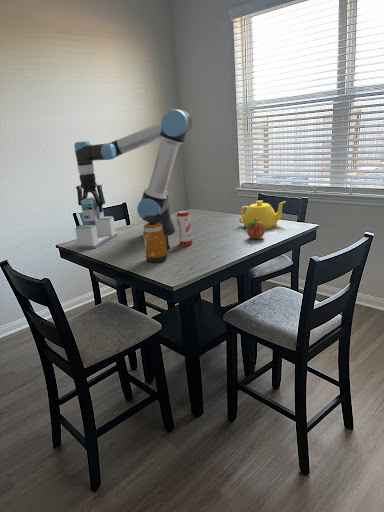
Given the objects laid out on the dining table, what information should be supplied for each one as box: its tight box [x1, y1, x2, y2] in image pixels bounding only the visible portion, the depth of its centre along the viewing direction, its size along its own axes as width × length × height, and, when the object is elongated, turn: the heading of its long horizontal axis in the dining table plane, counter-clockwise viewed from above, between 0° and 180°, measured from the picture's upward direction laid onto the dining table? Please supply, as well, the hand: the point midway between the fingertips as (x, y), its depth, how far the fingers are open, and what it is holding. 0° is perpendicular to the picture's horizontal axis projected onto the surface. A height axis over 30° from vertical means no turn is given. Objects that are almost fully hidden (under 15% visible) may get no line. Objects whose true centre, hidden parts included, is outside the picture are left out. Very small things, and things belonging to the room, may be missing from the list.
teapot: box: [238, 200, 287, 230], centre depth 205 cm, size 25×18×14 cm
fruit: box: [246, 218, 266, 240], centre depth 185 cm, size 9×10×10 cm
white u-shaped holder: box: [74, 215, 118, 250], centre depth 204 cm, size 10×23×11 cm, turn 163°
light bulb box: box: [80, 196, 105, 222], centre depth 200 cm, size 11×7×11 cm, turn 168°
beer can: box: [176, 210, 193, 247], centre depth 185 cm, size 6×6×16 cm
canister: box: [142, 214, 171, 263], centre depth 166 cm, size 9×11×20 cm
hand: (94, 218), depth 202 cm, fingers closed on light bulb box, 7 cm apart
